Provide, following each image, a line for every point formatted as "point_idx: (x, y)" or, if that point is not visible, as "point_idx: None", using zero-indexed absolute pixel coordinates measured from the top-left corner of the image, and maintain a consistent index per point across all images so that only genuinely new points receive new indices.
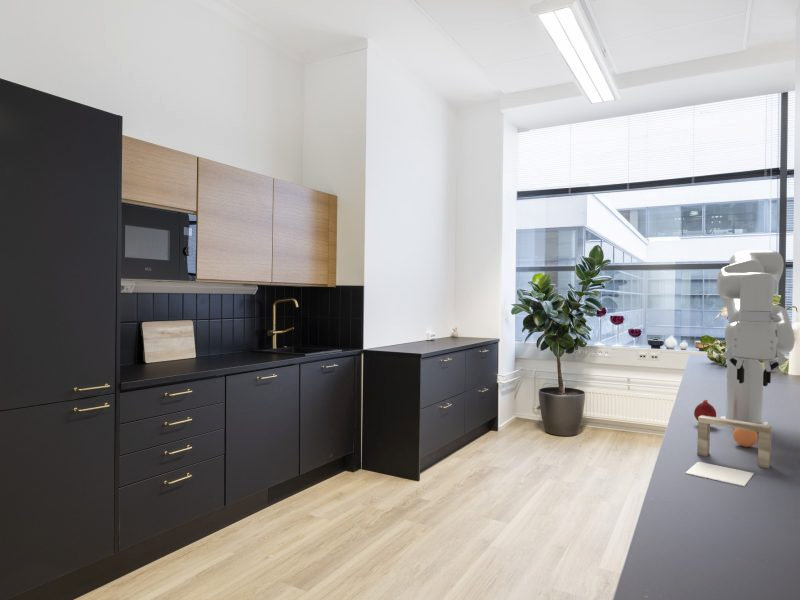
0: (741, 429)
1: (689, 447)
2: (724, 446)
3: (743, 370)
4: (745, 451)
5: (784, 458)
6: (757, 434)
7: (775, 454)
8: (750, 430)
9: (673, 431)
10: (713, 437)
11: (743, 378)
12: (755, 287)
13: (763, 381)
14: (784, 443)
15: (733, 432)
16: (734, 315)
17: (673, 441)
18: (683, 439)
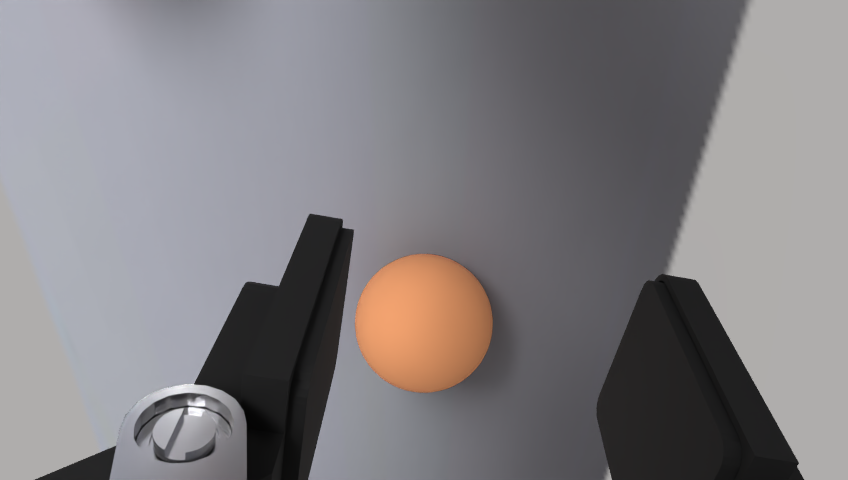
0: (397, 386)
1: None
2: None
3: (303, 455)
4: None
5: (592, 401)
6: (488, 344)
7: (563, 355)
8: (447, 387)
9: (2, 154)
10: (246, 167)
11: (335, 323)
12: None
13: (612, 456)
14: (679, 48)
15: (356, 335)
16: None
17: (98, 381)
18: (122, 317)
